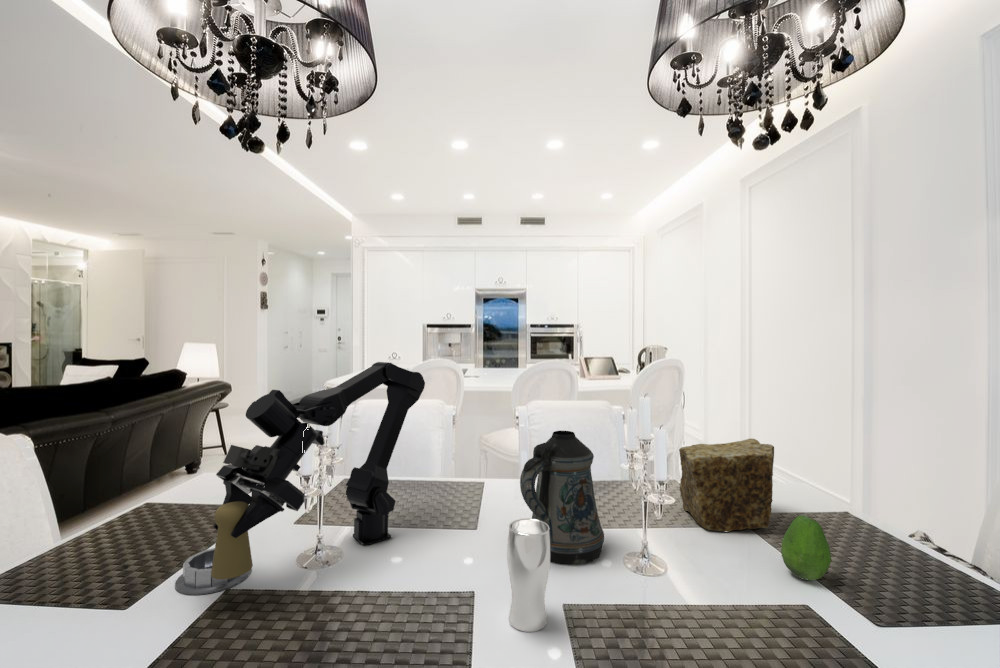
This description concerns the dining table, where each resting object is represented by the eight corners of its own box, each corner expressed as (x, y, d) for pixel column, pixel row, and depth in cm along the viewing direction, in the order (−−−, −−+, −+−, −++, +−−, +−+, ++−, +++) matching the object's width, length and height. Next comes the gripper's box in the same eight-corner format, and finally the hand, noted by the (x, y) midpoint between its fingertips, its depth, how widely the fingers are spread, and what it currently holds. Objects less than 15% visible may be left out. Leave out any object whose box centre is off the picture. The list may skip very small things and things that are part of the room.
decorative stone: (688, 447, 109) (672, 431, 129) (689, 533, 109) (672, 504, 129) (786, 450, 106) (754, 434, 125) (788, 539, 105) (755, 509, 125)
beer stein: (611, 540, 104) (612, 429, 104) (590, 580, 86) (592, 446, 86) (541, 526, 111) (543, 422, 111) (509, 561, 93) (511, 437, 93)
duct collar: (243, 555, 94) (244, 538, 94) (258, 579, 85) (259, 560, 85) (171, 574, 86) (172, 555, 86) (179, 603, 77) (180, 582, 77)
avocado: (818, 593, 83) (818, 526, 83) (773, 574, 90) (773, 512, 90) (838, 581, 87) (838, 518, 88) (794, 564, 94) (794, 505, 94)
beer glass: (504, 608, 77) (505, 518, 77) (545, 607, 77) (546, 517, 78) (508, 635, 70) (510, 535, 70) (553, 633, 70) (555, 535, 71)
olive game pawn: (209, 582, 73) (210, 513, 73) (211, 566, 78) (212, 501, 78) (253, 573, 76) (253, 506, 76) (252, 558, 81) (252, 495, 81)
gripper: (228, 420, 85) (158, 497, 76) (289, 432, 76) (218, 522, 66) (268, 453, 92) (208, 528, 83) (329, 468, 82) (269, 555, 73)
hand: (224, 532), depth 76 cm, fingers closed on olive game pawn, 5 cm apart
